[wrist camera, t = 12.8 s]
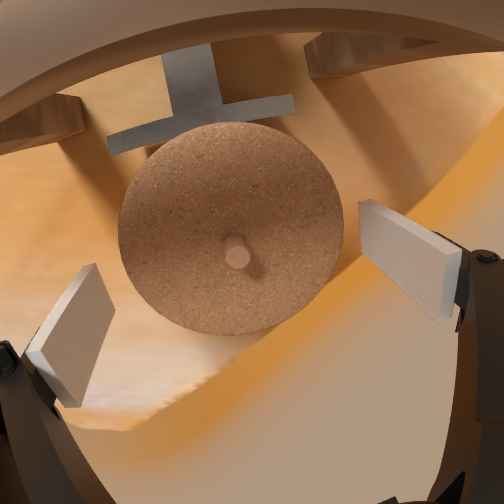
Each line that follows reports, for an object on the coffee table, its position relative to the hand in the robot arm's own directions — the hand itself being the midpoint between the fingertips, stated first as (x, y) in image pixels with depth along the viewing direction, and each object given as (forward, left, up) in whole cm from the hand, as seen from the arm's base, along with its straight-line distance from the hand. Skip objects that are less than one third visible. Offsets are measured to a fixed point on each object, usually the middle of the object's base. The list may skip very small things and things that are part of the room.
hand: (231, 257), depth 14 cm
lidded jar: (-1, 0, -8) cm, 8 cm away
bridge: (-9, 0, -8) cm, 12 cm away
